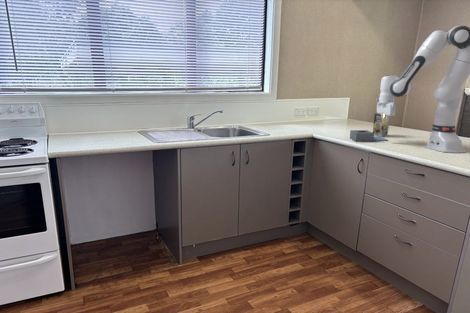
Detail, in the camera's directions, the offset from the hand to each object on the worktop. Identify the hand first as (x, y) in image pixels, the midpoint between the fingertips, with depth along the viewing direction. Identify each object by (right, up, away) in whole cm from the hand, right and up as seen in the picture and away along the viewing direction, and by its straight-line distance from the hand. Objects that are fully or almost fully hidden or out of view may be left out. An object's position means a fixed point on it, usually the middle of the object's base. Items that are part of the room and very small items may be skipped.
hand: (385, 121), depth 224 cm
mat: (0, -11, +14) cm, 18 cm away
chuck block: (-12, -12, +11) cm, 20 cm away
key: (0, -6, +1) cm, 6 cm away
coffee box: (+8, -8, +27) cm, 30 cm away
